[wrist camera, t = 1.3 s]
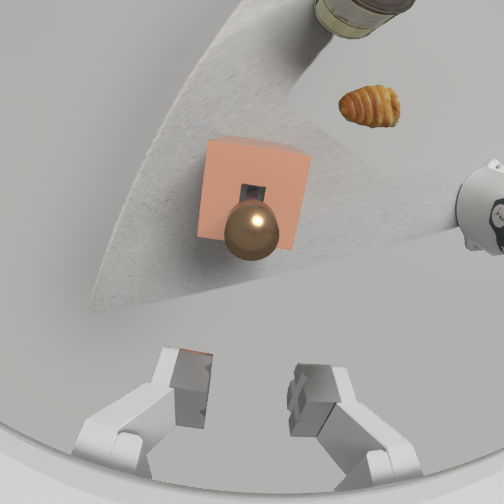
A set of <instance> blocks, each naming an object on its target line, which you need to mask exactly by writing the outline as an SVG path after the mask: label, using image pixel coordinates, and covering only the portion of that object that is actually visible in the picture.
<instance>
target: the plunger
mask: <svg viewBox="0 0 504 504" xmlns="http://www.w3.org/2000/svg"><path fill="white" fill-rule="evenodd" d="M264 192H265V187H262V186H256V185H249V184H242V185H241V192H240V198H239V203H238V204H237V205H236V206H234V207H233V209H232V210H231V211H230V213H229V215H228V218H227V222H226V226H225V231H224V239H225V243H226V245H227V247H228V249H229V250H230V251H231V252H232V253H233V254H234V255H235V256H237V257H239V258H241V259H244V260H249V261H255V260H260V259H263V258H265V257H267V256H268V255H270V254H271V253H272V252H273V251H274V250H275V248H276V246H277V244H278V241H279V228H278V224H277V220H276V216H275V214H274V212H273V210H272V209H271V208H270V207H269V206H268V205H267V204H265V203H263V198H264Z"/></svg>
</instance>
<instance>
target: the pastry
mask: <svg viewBox="0 0 504 504" xmlns="http://www.w3.org/2000/svg"><path fill="white" fill-rule="evenodd" d="M339 110H340V112H341V114H342V115H343V116H344V117H345V118H346V120H347V121H350V122H355V123H357V124H359V125H365V126H368V127H370V128H375V127H394V126H395V125H396V124H397V122H398V119H399V118H400V103H399V100H398V97H397V95H396V93H395V92H394V91H393V90H392V89H391V88H386V87H384V86H380V85H376V86H365V87H363V88H360V89H358V90H355V91H352V92H350V93H347V94H345V96H343V97H342V99H341V100H340V101H339Z"/></svg>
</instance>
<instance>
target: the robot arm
mask: <svg viewBox="0 0 504 504" xmlns="http://www.w3.org/2000/svg"><path fill="white" fill-rule="evenodd" d="M457 220H458V224H459V227H460V229H461V231H462V232H463V234H464V236H465V245H466V248H467V249H469V250H471V251H474V250H484V251H486V252H488V253H489V254H491V255H493V256H495V255H501V254H504V166H503V165H502V164H500V163H499V162H498V161H497V160H496V159H494V158H490V159H489V160H488V161H487V162H486V163H485V165H484V166H483V167H481V168H479V169H477V170H475V171H473V172H472V173H471V174H470V175H469V176H468V177H467V179H466V180H465V181H464V183H463V185H462V187H461V189H460V192H459V196H458V200H457ZM212 358H213V354H209V353H202V352H197V351H191V350H186V349H179V348H174V347H170V346H164V347H163V348H162V350H161V352H160V355H159V358H158V361H157V364H156V367H155V370H154V372H153V375H152V378H151V381H150V383H143V384H142V385H140V386H138V387H137V388H135V389H134V390H132V391H131V392H129V393H128V394H126V395H124V396H123V397H121V398H120V399H118V400H117V401H115V402H114V403H112V404H110V405H109V406H107V407H105V408H104V409H103V410H101V411H99V412H98V413H96V414H94V415H93V416H91V417H90V418H88V419H86V421H85V423H84V426H83V428H82V430H81V432H80V435H79V437H78V439H77V442H76V444H75V446H74V449H73V451H72V454H71V455H69V454H67V453H64V452H62V451H59V450H57V449H55V448H52V447H50V446H48V445H46V444H43V443H41V442H39V441H37V440H35V439H33V438H30V437H28V436H26V435H24V434H22V433H20V432H18V431H16V430H15V429H13V428H11V427H9V426H7V425H5V424H3V423H2V422H0V504H504V448H502V449H500V450H498V451H495V452H493V453H491V454H488V455H486V456H483V457H481V458H478V459H475V460H473V461H470V462H467V463H465V464H462V465H459V466H456V467H453V468H450V469H447V470H443V471H440V472H436V473H433V474H429V475H426V476H423V473H422V470H421V467H420V464H419V462H418V459H417V456H416V453H415V451H414V448H413V446H412V444H411V443H410V442H409V441H407V440H406V439H405V438H404V437H402V436H401V435H400V434H399V433H398V432H396V431H395V430H394V429H393V428H392V427H390V426H389V425H388V424H387V423H385V422H384V421H383V420H382V419H381V418H379V417H378V416H377V415H376V414H375V413H373V412H372V411H371V410H370V409H369V408H368V407H366V406H365V405H364V404H363V403H357V400H356V397H355V394H354V390H353V387H352V384H351V381H350V379H349V375H348V372H347V370H346V367H345V366H344V365H318V364H300V363H298V364H297V366H296V368H295V371H294V376H295V379H294V380H292V381H291V382H290V385H289V388H288V393H287V409H288V410H289V411H290V412H291V415H290V418H289V428H290V436H294V437H317V438H316V439H317V440H318V441H319V442H320V444H321V445H322V446H323V447H324V449H325V450H326V451H327V452H328V454H329V455H330V456H331V457H332V458H333V460H334V461H335V462H336V463H337V464H338V466H339V467H340V468H341V469H342V470H343V472H344V473H345V474H346V475H347V476H346V477H345V478H344V480H343V481H342V482H341V483H340V484H339V485H338V486H337V487H336V488H335V489H334V490H335V491H334V492H321V493H302V494H260V493H240V492H228V491H218V490H209V489H202V488H194V487H188V486H182V485H176V484H171V483H166V482H161V481H156V480H152V475H151V471H150V468H149V464H148V461H147V456H146V454H147V453H148V452H149V451H150V450H151V449H152V448H153V447H155V446H156V445H157V444H158V443H159V442H160V441H161V440H162V439H163V438H164V437H165V436H166V435H167V434H168V433H169V432H170V431H171V430H173V429H174V428H175V427H176V425H179V426H185V427H192V428H200V429H203V428H204V422H205V415H206V407H207V401H208V393H209V385H210V377H211V366H212Z"/></svg>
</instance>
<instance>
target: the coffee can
mask: <svg viewBox="0 0 504 504" xmlns="http://www.w3.org/2000/svg"><path fill="white" fill-rule="evenodd" d="M414 2H415V0H315V2H314V11H315V14H316V17H317V19H318V20H319V22H320V23H321V24H322V25H323V26H324V27H325V28H326V29H327V30H328V31H330V32H331V33H333V34H335V35H337V36H339V37H342V38H346V39H360V38H364V37H366V36H368V35H369V34H370V33H371V32H373V31H374V30H375V29H377V28H378V27H380V26H381V25H383V24H385V23H386V22H388V21H389V20H390V19H392V18H394V17H395V16H397V15H398V14H400V13H403V12H405V11H407V10H408V9H409V8H411V7H412V5H413V4H414Z"/></svg>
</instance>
